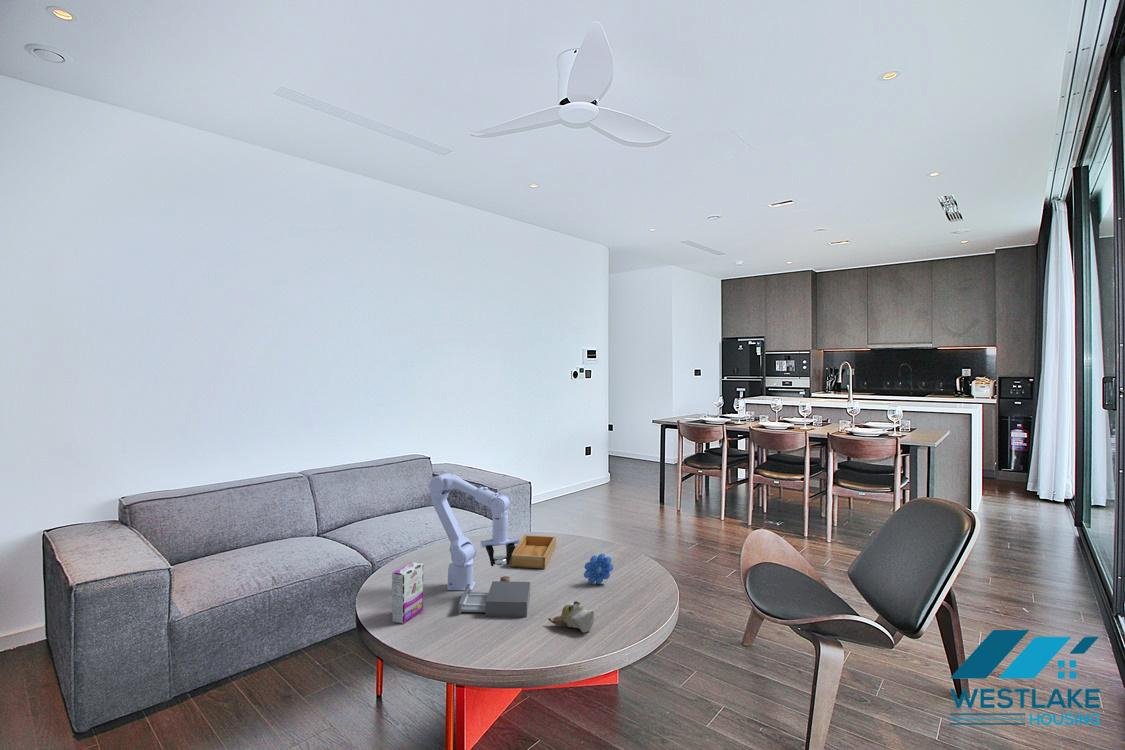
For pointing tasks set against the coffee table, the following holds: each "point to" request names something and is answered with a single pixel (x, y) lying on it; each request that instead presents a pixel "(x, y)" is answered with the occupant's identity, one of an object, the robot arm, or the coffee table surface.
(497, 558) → the silver disc
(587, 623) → the ceramic sculpture
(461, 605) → the tray
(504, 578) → the walnut disc stand
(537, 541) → the tray
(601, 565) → the blue flower shape
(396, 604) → the candy bar box
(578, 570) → the coffee table surface
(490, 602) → the player housing
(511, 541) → the robot arm
